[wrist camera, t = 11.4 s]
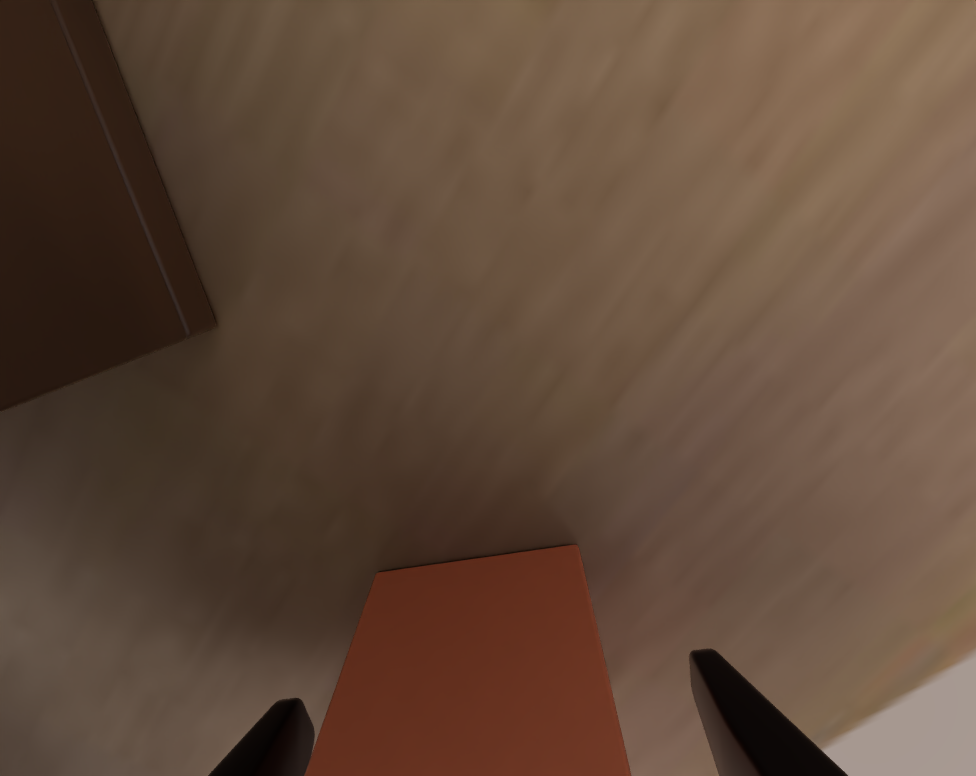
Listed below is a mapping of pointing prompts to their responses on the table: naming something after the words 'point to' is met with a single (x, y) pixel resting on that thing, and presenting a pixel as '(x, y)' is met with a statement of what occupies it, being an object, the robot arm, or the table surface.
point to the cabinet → (80, 212)
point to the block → (475, 675)
